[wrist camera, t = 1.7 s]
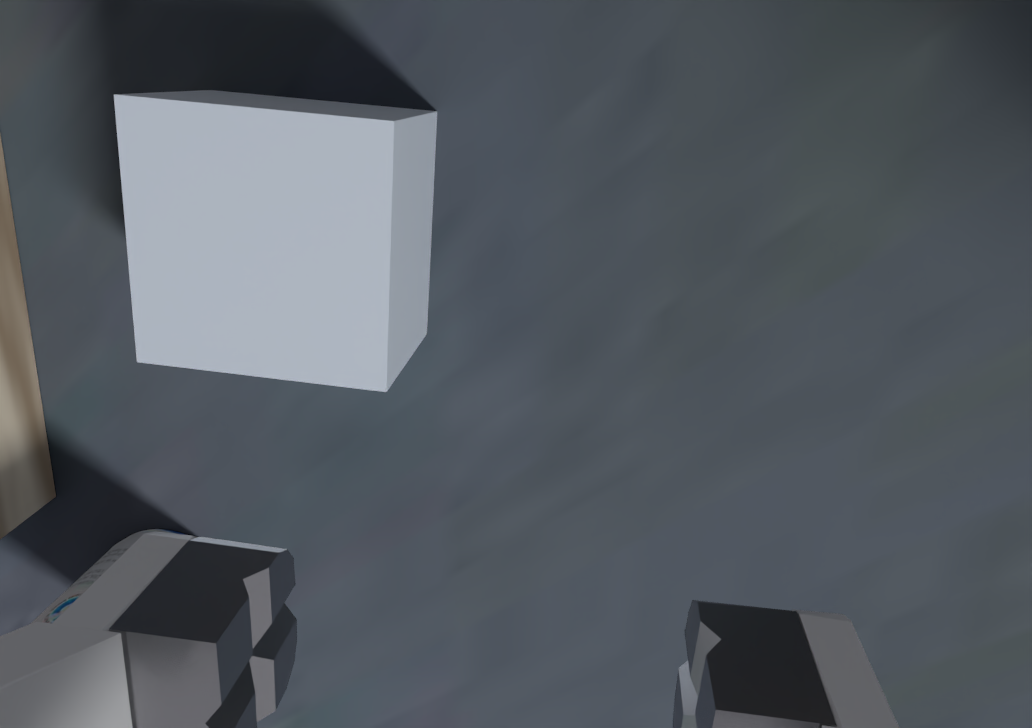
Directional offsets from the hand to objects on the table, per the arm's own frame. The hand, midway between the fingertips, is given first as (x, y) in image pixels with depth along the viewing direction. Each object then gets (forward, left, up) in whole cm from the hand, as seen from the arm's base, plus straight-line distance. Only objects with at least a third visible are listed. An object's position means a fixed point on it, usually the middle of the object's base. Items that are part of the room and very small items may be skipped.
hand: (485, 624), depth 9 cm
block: (+9, 0, -21) cm, 23 cm away
